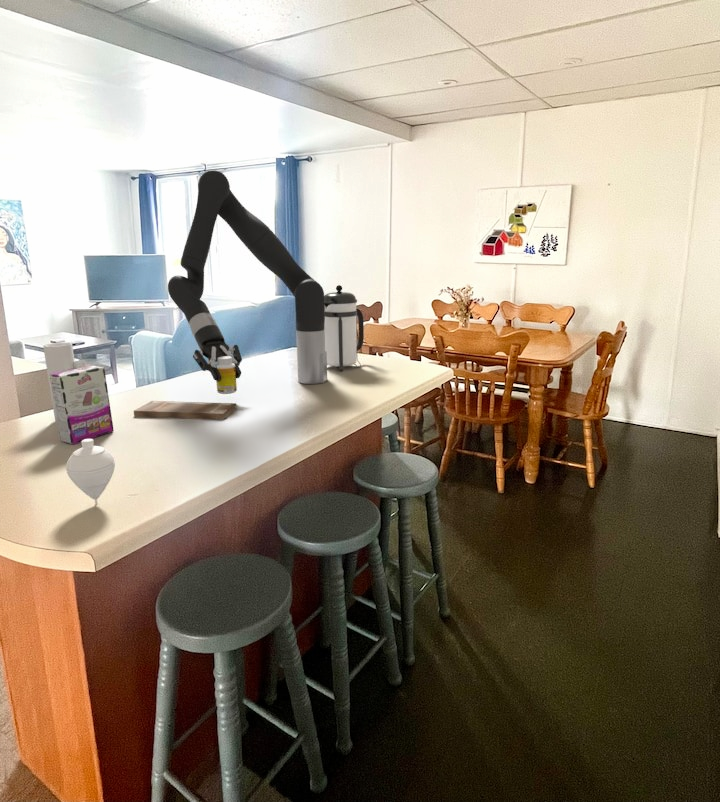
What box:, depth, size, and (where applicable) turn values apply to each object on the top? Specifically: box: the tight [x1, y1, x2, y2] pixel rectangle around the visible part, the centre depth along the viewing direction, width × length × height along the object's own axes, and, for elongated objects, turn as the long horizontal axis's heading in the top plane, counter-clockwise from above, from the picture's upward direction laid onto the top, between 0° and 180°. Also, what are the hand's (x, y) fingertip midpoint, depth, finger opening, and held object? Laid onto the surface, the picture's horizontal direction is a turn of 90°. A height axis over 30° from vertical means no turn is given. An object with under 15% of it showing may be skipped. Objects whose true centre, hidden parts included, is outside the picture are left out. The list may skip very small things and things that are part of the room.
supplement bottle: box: [215, 356, 238, 395], centre depth 162 cm, size 6×6×10 cm
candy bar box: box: [50, 364, 115, 445], centre depth 134 cm, size 11×5×16 cm, turn 148°
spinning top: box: [65, 438, 116, 505], centre depth 99 cm, size 8×8×12 cm
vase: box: [42, 342, 87, 424], centre depth 147 cm, size 11×7×20 cm, turn 66°
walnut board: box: [133, 400, 238, 420], centre depth 155 cm, size 25×10×2 cm, turn 82°
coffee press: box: [324, 284, 365, 372], centre depth 208 cm, size 17×16×30 cm
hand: (229, 378), depth 161 cm, fingers closed on supplement bottle, 5 cm apart
